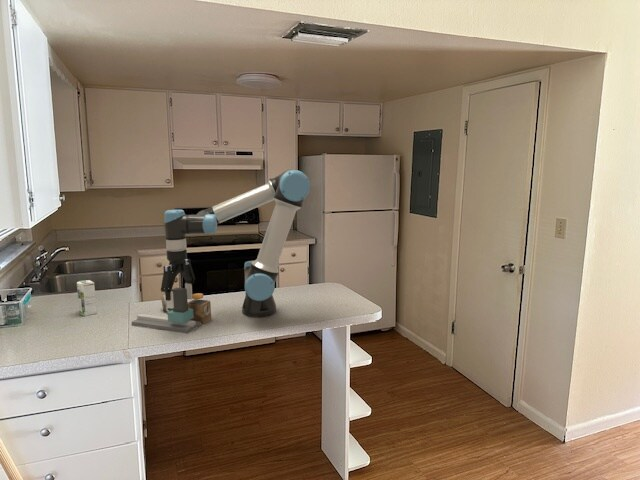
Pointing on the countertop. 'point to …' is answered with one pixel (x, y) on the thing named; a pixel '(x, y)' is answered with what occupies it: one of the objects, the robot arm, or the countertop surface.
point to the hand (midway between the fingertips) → (180, 303)
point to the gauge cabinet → (200, 310)
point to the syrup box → (86, 297)
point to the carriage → (180, 307)
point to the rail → (164, 323)
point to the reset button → (197, 296)
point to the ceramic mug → (165, 304)
